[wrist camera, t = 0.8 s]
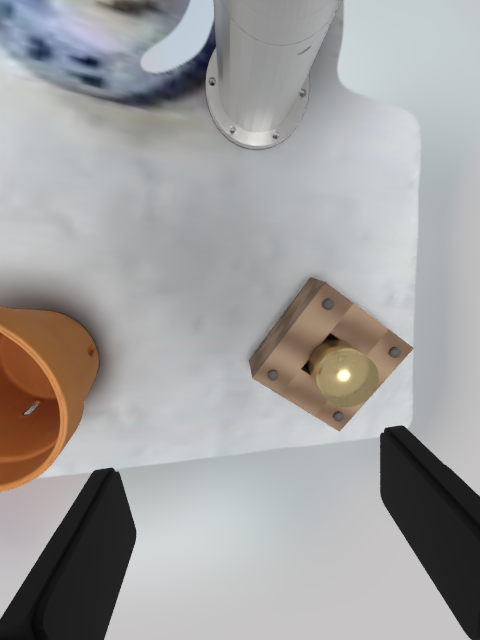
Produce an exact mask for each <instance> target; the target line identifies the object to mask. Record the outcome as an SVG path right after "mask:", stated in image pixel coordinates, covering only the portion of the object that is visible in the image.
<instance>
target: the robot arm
mask: <svg viewBox="0 0 480 640" xmlns="http://www.w3.org/2000/svg"><path fill="white" fill-rule="evenodd" d="M340 2H341V0H214V18H215V35H216V48H215V49H214V51H213V54H212V56H211V58H210V60H209V64H208V68H207V72H206V96H207V102H208V107H209V110H210V113H211V116H212V118H213V120H214V121H215V123H216V125H217V127H218V128H219V129H220V131H221V132H222V133H223V134H224V135H225V136H226V137H227V138H228V139H229V140H231V141H232V142H234V143H236V144H237V145H239V146H242V147H245V148H248V149H266V148H269V147H272V146H275V145H277V144H279V143H280V142H282V141H284V140H285V139H286V138H287V137H288V136H289V135H290V134H291V133H292V132H293V131H294V129H295V128H296V127H297V125H298V123H299V122H300V120H301V118H302V116H303V114H304V111H305V109H306V105H307V101H308V97H309V87H310V84H309V70H310V68H311V66H312V64H313V62H314V59H315V57H316V55H317V53H318V51H319V48H320V46H321V44H322V42H323V40H324V37H325V35H326V33H327V31H328V29H329V27H330V24H331V22H332V20H333V18H334V16H335V13H336V11H337V9H338V7H339V5H340ZM211 84H214V86H211ZM300 95H302V96H303V97H301V96H300ZM231 131H233V132H234V134H231V133H230V132H231ZM273 136H276V137H277V139H274V138H273ZM380 473H381V475H380V486H381V487H380V492H381V498H382V501H383V503H384V505H385V507H386V508H387V510H388V511H389V513H390V515H391V516H392V518H393V519H394V521H395V523H396V524H397V526H398V527H399V529H400V530H401V532H402V534H403V535H404V537H405V538H406V540H407V541H408V543H409V545H410V546H411V548H412V549H413V551H414V553H415V554H416V556H417V557H418V559H419V560H420V562H421V564H422V565H423V567H424V568H425V570H426V571H427V573H428V575H429V576H430V578H431V579H432V581H433V582H434V584H435V586H436V587H437V589H438V591H439V592H440V594H441V595H442V597H443V598H444V600H445V601H446V603H447V605H448V606H449V608H450V609H451V611H452V613H453V614H454V616H455V617H456V619H457V621H458V622H459V624H460V625H461V627H462V628H463V630H464V631H465V633H466V634H467V635H468V637H469V638H470V639H472V640H480V496H479V495H478V494H476V493H475V492H474V491H473V490H472V489H471V488H470V487H469V486H468V485H467V484H466V483H465V482H464V481H463V480H462V479H461V478H460V477H459V476H457V475H456V474H455V473H454V472H453V471H452V470H451V469H450V468H449V467H447V466H446V465H444V464H443V463H442V462H441V461H440V460H439V459H438V458H437V457H436V456H435V455H434V454H433V453H432V452H430V451H429V449H427V448H426V447H425V446H424V445H423V444H422V443H421V442H420V441H419V440H418V439H417V438H416V437H415V436H414V435H413V434H412V433H411V432H410V431H409V430H408V429H407V428H405V427H404V426H395V427H388V428H385V430H384V433H381V435H380ZM135 541H136V528H135V524H134V521H133V518H132V514H131V511H130V507H129V504H128V500H127V497H126V494H125V491H124V487H123V484H122V480H121V477H120V474H119V472H115V470H114V469H113V468H107V469H100V470H95V471H94V472H93V473H92V474H91V476H90V478H89V479H88V481H87V482H86V484H85V485H84V487H83V489H82V490H81V492H80V493H79V495H78V497H77V498H76V500H75V501H74V503H73V505H72V506H71V508H70V510H69V511H68V513H67V514H66V516H65V518H64V519H63V521H62V522H61V524H60V525H59V527H58V528H57V530H56V531H55V533H54V534H53V536H52V538H51V539H50V541H49V542H48V544H47V545H46V547H45V549H44V550H43V552H42V554H41V555H40V557H39V558H38V560H37V562H36V563H35V565H34V566H33V568H32V569H31V571H30V573H29V574H28V576H27V577H26V579H25V581H24V582H23V584H22V586H21V587H20V589H19V590H18V592H17V593H16V595H15V597H14V598H13V600H12V601H11V603H10V605H9V606H8V608H7V609H6V611H5V613H4V614H3V616H2V617H1V619H0V640H104V638H105V635H106V631H107V628H108V625H109V622H110V619H111V616H112V613H113V610H114V607H115V604H116V600H117V597H118V594H119V591H120V588H121V585H122V582H123V579H124V576H125V573H126V570H127V567H128V563H129V560H130V557H131V554H132V551H133V548H134V545H135Z"/></svg>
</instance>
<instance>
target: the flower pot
mask: <svg viewBox="0 0 480 640" xmlns="http://www.w3.org/2000/svg"><path fill="white" fill-rule="evenodd" d="M98 367H99V356H98V351H97V347H96V345H95V343H94V341H93V339H92V337H91V336H90V334H89V333H88V332H87V330H86V329H85V328H84V327H83V326H81V325H80V324H79V323H78V322H76V321H75V320H73V319H72V318H70V317H68V316H66V315H63V314H61V313H57V312H54V311H48V310H31V309H8V308H5V307H2V306H0V492H2V491H7V490H11V489H14V488H17V487H20V486H22V485H24V484H26V483H28V482H30V481H32V480H34V479H35V478H37V477H38V476H40V475H41V474H42V473H43V472H44V471H46V470H47V469H48V468H49V467H50V466H51V465H52V463H53V462H54V461H55V459H56V458H57V457H58V455H59V454H60V453H61V451H62V450H63V448H64V447H65V445H66V444H67V443H68V441H69V440H70V438H71V437H72V435H73V434H74V432H75V431H76V429H77V427H78V425H79V423H80V420H81V417H82V414H83V408H84V401H85V399H86V397H87V395H88V393H89V391H90V388H91V386H92V384H93V382H94V380H95V377H96V375H97V371H98ZM35 404H39V405H38V406H37V407H36V409H35V410H34V411H33V412H31V413H30V414H27V415H24V413H25V412H26V411H27V410H28V409H30V408H31V407H32V406H33V405H35Z"/></svg>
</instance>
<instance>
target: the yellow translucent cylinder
mask: <svg viewBox="0 0 480 640" xmlns="http://www.w3.org/2000/svg"><path fill="white" fill-rule="evenodd" d="M307 362H308V368H309V372H310V375H311V377H312V378H313V380H314V381H315V383H316V384H317V386H318V387H319V389H320V390H321V392H322V394H323V395H324V397H325V398H326V399H327V400H328V401H329V402H330V403H332V404H334V405H336V406H339V407H353V406H356V405H359V404H361V403H363V402H365V401H366V400H367V399H369V398H370V397H371V396H372V394H373V393H374V392H375V390H376V388H377V385H378V381H379V373H378V369H377V367H376V365H375V364H374V363H373V361H372V360H370V359H369V358H368V357H366V356H365V355H364V354H363V353H361V352H360V351H359V350H357V349H356V348H355V347H354V346H352V345H351V344H350V343H348V342H346V341H343V340H337V339H335V338H334V337H333V336H332V335H330V334H329V335H328V336H327V337H326V338H325V340H324V341H323V342H322V343H321V345H319V346H318V347H317V348H316V349H315V350H314V351H313V353H312V354H311V356H310V358H309V360H308V361H307Z"/></svg>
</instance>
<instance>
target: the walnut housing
mask: <svg viewBox="0 0 480 640" xmlns="http://www.w3.org/2000/svg"><path fill="white" fill-rule="evenodd" d="M329 334H330V335H332V336H333V337H334V338H335V339H337V340H343V341H346V342H348V343H350V344H351V345H352V346H354V347H355V348H356V349H357V350H359V351H360V352H361V353H363V354H364V355H365V356H366V357H368V358H369V359H370V360H372V361H373V363H374V364H375V365H376V367H377V369H378V373H379V381H378V385H377V388H376V390H377V389H378V388H379V387H380V385H381V384H382V383H383V382H384V381H385V380H386V379H387V378H388V376H389V375H390V374H391V373H392V372H393V371H394V370H395V369H396V367H397V366H398V365H399V364H400V363H401V362H402V361H403V360H404V358H405V357H406V356H407V355H408V354H409V353H410V352H411V351H412V349H413V347H411V346H410V345H409V344H407V343H406V342H405V341H403V340H402V339H401V338H399V337H398V336H397V335H395V334H394V333H393V332H391V331H390V330H389V329H387V328H386V327H385V326H383V325H382V324H381V323H379V322H378V321H377V320H375V319H374V318H373V317H371V316H370V315H368V314H367V313H366V312H364V311H363V310H362V309H360V308H359V307H358V306H356V305H355V304H354V303H352V302H351V301H350V300H348V299H347V298H346V297H344V296H343V295H342V294H340V293H339V292H338V291H336V290H335V289H334V288H332V287H331V286H330V285H328V284H327V283H326V282H323V281H320V280H317V279H314V278H310V280H309V281H308V282H307V284H306V285H305V286H304V288H303V289H302V290H301V292H300V293H299V294H298V296H297V297H296V298H295V300H294V301H293V302H292V304H291V305H290V306H289V308H288V309H287V310H286V312H285V313H284V314H283V316H282V317H281V318H280V320H279V321H278V322H277V324H276V325H275V326H274V328H273V329H272V330H271V332H270V333H269V335H268V336H267V337H266V339H265V340H264V341H263V343H262V344H261V345H260V347H259V348H258V349H257V351H256V352H255V353H254V355H253V356H252V357H251V359H250V360H249V362H250V367H251V373H252V378H253V379H255V380H256V381H258V382H260V383H261V384H263V385H265V386H266V387H268V388H269V389H271V390H273V391H274V392H276V393H278V394H279V395H281V396H282V397H284V398H286V399H287V400H289V401H291V402H292V403H294V404H295V405H297V406H299V407H300V408H302V409H304V410H305V411H307V412H308V413H310V414H312V415H313V416H315V417H317V418H318V419H320V420H321V421H323V422H325V423H326V424H328V425H330V426H331V427H333V428H334V429H336V430H338V431H340V430H341V429H342V428H343V427H344V426H345V425H346V424H347V422H348V421H349V420H350V419H351V418H352V417H353V416H354V415H355V414H356V412H357V411H358V410H359V409H360V408H361V407H362V406H363V405H364V403H365V402H366V401H367V400H368V399H367V400H366V401H365V402H363V403H361V404H359V405H356V406H353V407H339V406H336V405H334V404H332V403H330V402H329V401H328V400H327V399H326V398H325V397H324V395H323V394H322V392H321V390H320V389H319V387H318V386H317V384H316V383H315V381H314V380H313V378H312V377H311V375H310V372H309V368H308V362H307V361H308V360H309V358H310V356H311V354H312V353H313V351H314V350H315V349H316V348H317V347H318V346H319V345H321V343H322V342H323V341H324V340H325V338H326V337H327V336H328V335H329ZM376 390H375V391H376Z"/></svg>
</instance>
